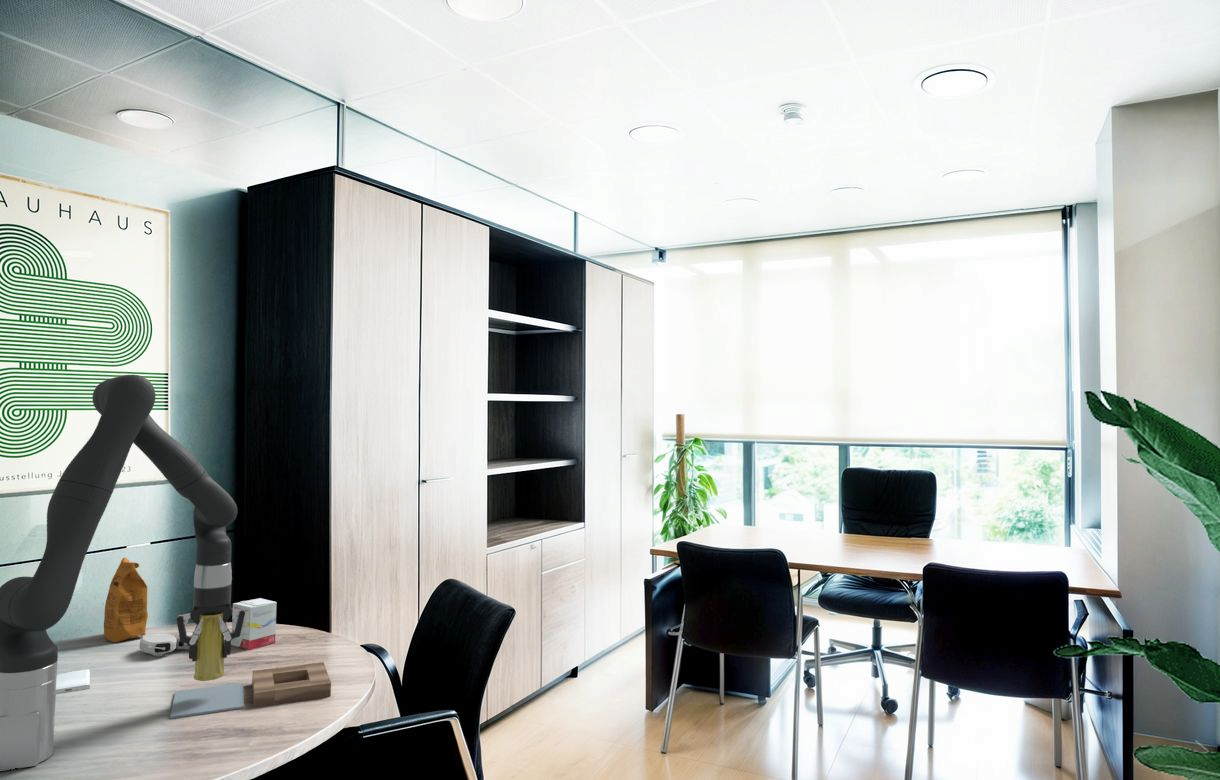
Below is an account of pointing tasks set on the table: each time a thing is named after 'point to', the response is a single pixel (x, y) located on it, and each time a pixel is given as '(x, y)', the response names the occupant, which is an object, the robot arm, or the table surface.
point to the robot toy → (162, 643)
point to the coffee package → (126, 604)
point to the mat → (207, 700)
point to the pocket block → (290, 684)
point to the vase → (210, 649)
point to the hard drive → (73, 681)
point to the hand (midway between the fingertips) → (209, 658)
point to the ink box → (256, 623)
